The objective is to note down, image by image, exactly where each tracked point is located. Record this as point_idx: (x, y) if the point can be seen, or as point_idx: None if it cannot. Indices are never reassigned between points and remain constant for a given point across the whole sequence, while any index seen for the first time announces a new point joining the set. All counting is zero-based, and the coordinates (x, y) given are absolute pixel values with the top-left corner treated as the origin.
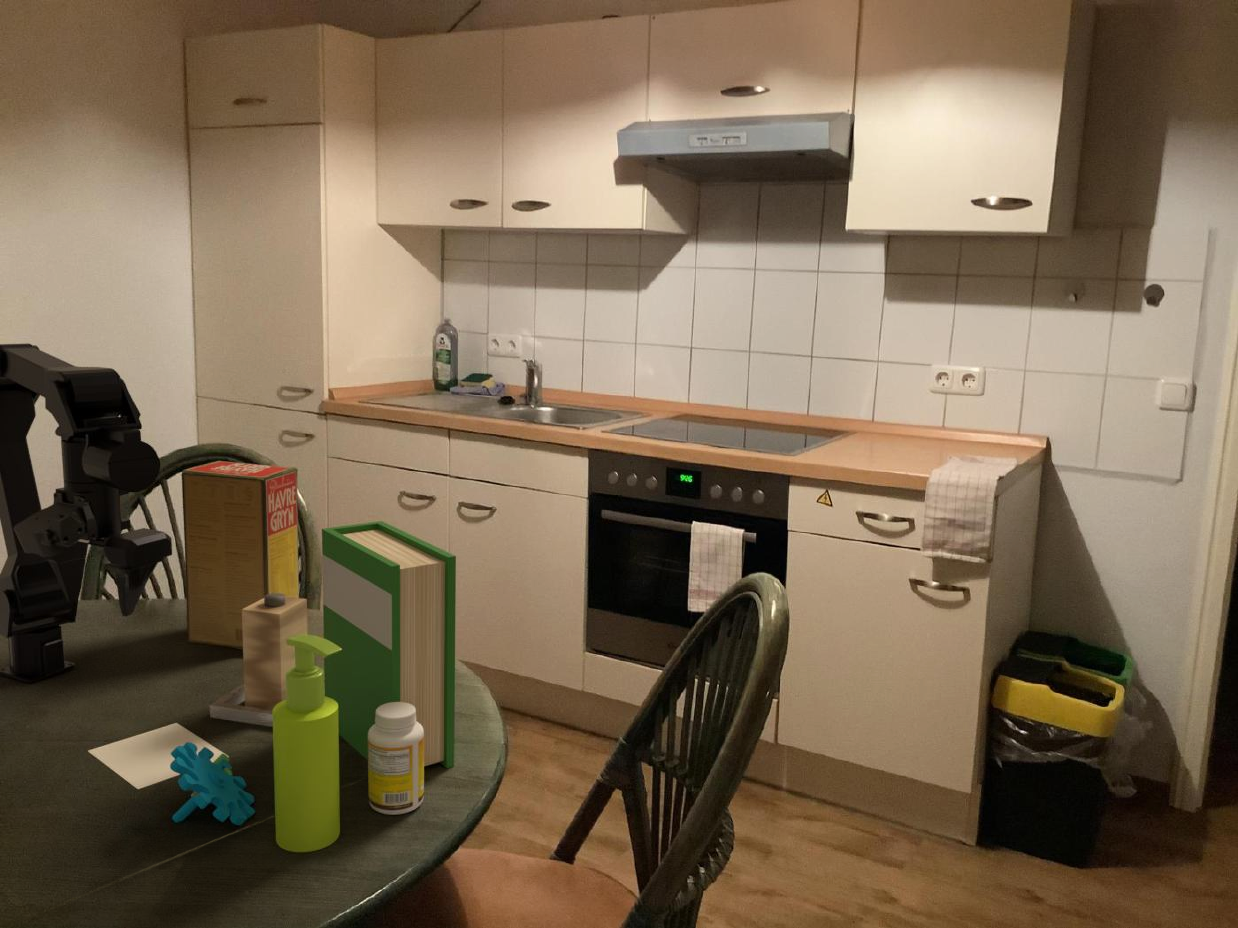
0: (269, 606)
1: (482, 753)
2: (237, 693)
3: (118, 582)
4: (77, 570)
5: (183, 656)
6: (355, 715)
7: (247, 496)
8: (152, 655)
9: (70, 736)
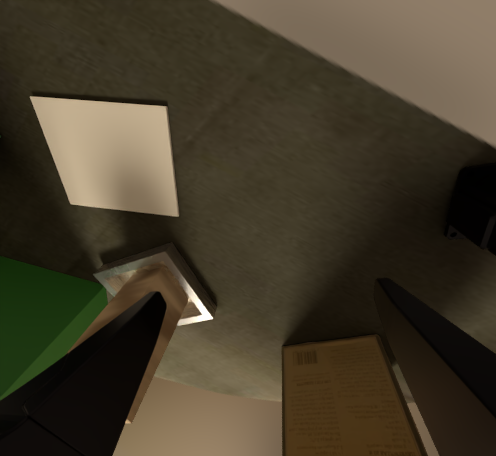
0: None
1: None
2: (178, 280)
3: (44, 389)
4: (436, 418)
5: (345, 312)
6: (11, 292)
7: None
8: None
9: (234, 116)
